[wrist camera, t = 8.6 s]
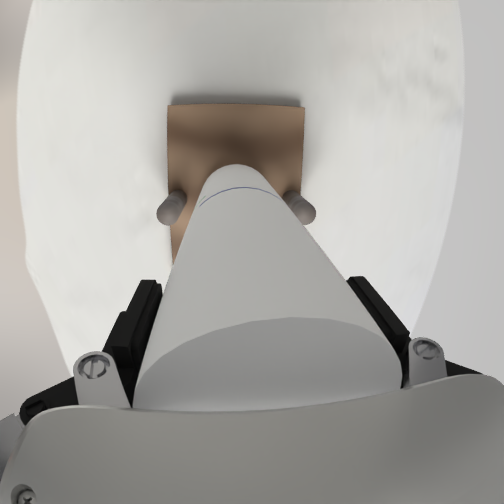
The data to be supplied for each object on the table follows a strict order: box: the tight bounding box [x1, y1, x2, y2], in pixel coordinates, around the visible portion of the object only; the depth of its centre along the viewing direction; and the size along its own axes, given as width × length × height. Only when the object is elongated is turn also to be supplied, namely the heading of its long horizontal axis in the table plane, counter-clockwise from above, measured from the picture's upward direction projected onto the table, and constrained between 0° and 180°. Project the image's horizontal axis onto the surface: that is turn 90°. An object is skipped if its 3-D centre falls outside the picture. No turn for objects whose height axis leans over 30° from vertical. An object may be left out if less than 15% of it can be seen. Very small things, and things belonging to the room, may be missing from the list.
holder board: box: [157, 104, 316, 264], centre depth 29 cm, size 20×14×8 cm
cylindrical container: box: [133, 164, 402, 411], centre depth 18 cm, size 7×7×25 cm
